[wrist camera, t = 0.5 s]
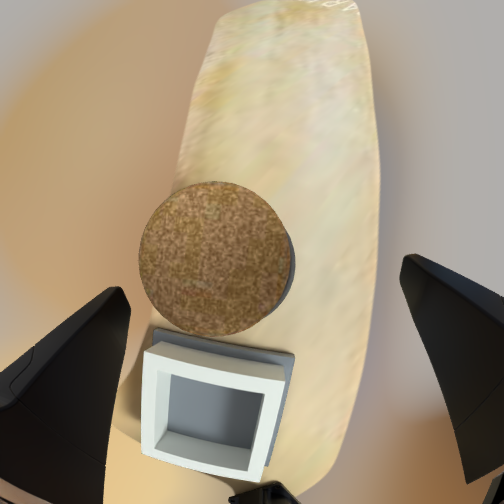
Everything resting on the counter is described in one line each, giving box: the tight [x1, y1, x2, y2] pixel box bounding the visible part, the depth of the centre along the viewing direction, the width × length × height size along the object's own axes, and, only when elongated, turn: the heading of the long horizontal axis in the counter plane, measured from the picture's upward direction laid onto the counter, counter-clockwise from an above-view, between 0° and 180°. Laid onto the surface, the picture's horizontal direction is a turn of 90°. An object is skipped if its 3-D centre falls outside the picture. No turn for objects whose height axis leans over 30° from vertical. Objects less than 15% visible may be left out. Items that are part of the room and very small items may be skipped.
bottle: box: [139, 181, 295, 337], centre depth 16 cm, size 6×6×15 cm
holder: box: [141, 328, 295, 482], centre depth 20 cm, size 12×12×4 cm
